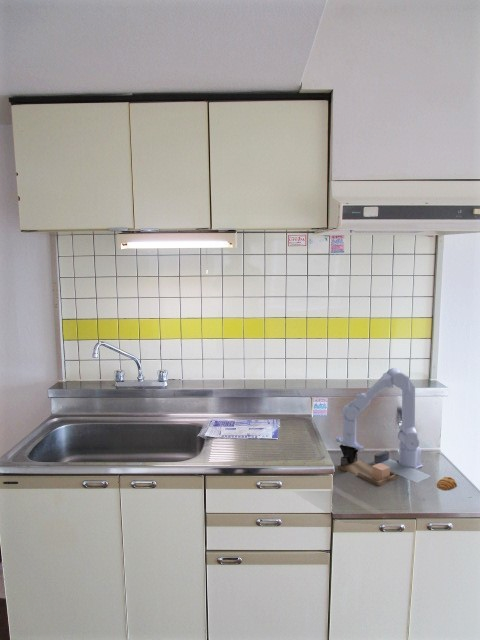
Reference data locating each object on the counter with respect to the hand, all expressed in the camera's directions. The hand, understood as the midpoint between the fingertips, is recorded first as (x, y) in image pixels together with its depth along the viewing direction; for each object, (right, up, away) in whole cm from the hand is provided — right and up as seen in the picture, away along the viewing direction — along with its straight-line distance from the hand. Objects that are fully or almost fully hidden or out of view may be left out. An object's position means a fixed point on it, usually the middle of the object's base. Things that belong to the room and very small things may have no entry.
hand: (349, 461), depth 191 cm
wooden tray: (+6, -3, -8) cm, 10 cm away
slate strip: (+21, -3, -6) cm, 22 cm away
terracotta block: (+10, -2, -14) cm, 17 cm away
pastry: (+34, -5, -20) cm, 40 cm away
